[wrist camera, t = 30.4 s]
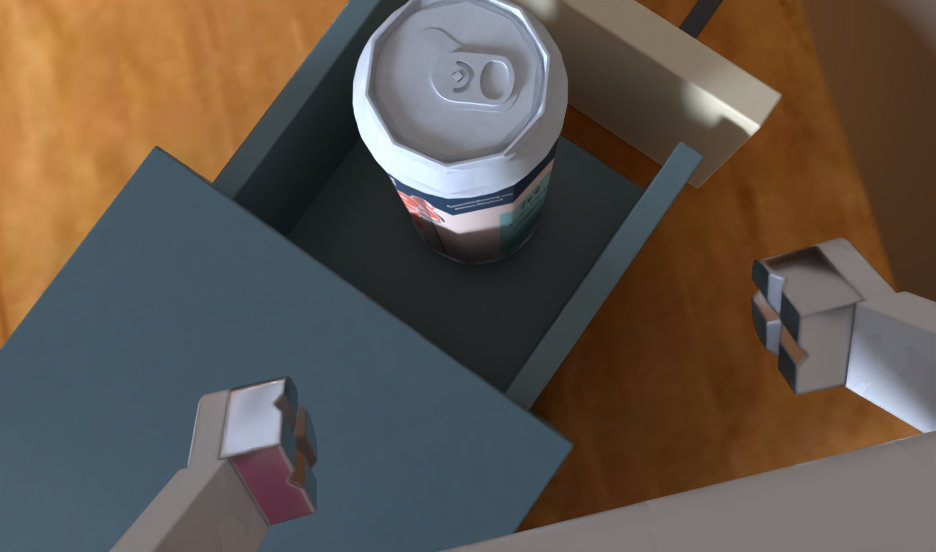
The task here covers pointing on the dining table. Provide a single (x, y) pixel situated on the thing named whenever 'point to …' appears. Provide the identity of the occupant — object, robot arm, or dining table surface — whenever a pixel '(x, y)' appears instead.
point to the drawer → (567, 198)
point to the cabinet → (241, 363)
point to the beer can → (464, 120)
